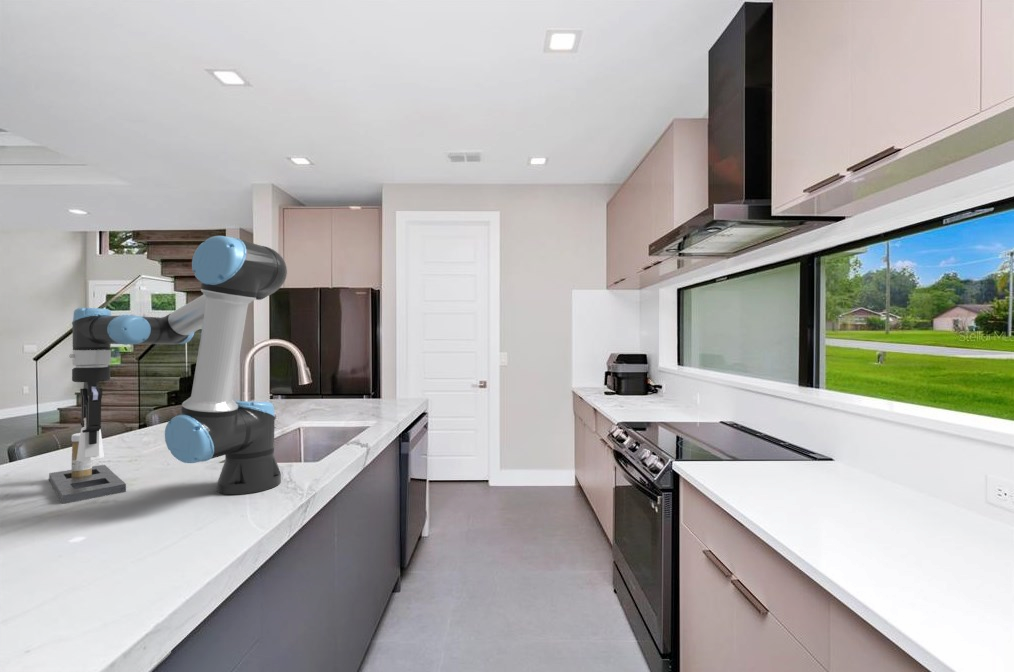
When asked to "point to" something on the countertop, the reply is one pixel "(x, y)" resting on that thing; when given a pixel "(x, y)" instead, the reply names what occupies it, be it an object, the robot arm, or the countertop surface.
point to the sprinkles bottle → (77, 466)
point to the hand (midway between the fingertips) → (90, 454)
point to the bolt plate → (86, 484)
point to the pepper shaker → (82, 447)
